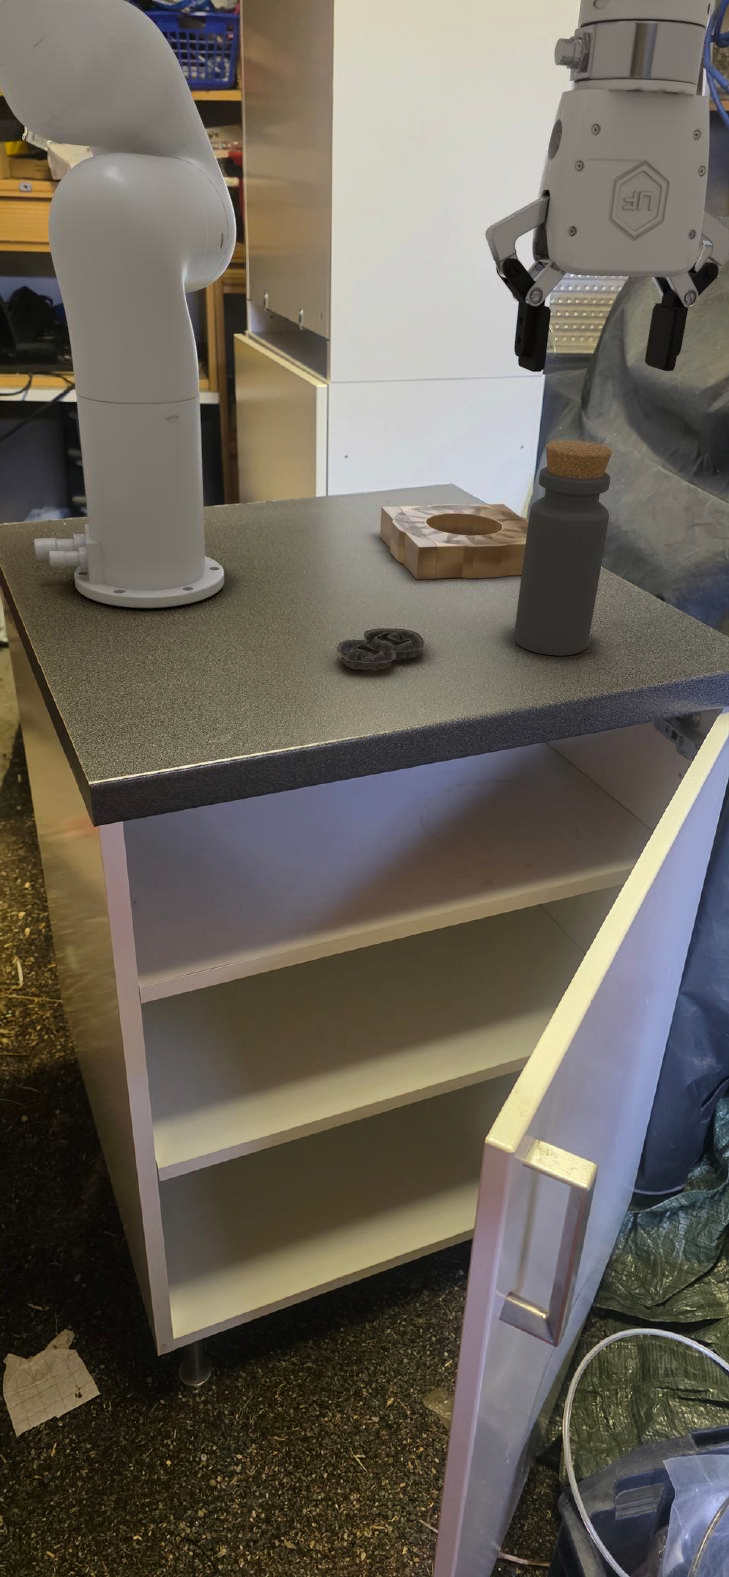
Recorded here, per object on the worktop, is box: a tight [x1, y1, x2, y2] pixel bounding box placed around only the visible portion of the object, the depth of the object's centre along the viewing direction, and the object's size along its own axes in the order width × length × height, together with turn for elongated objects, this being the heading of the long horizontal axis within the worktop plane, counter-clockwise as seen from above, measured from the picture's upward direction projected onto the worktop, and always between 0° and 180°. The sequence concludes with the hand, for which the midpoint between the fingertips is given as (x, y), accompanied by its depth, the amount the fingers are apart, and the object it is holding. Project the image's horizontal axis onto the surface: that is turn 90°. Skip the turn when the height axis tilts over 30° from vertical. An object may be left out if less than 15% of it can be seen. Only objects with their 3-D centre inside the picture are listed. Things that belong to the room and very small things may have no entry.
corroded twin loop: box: [336, 627, 425, 670], centre depth 77 cm, size 5×8×1 cm, turn 140°
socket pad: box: [379, 503, 529, 580], centre depth 99 cm, size 14×14×3 cm
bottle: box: [513, 440, 613, 657], centre depth 78 cm, size 6×6×15 cm
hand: (595, 368), depth 71 cm, fingers open, 9 cm apart
